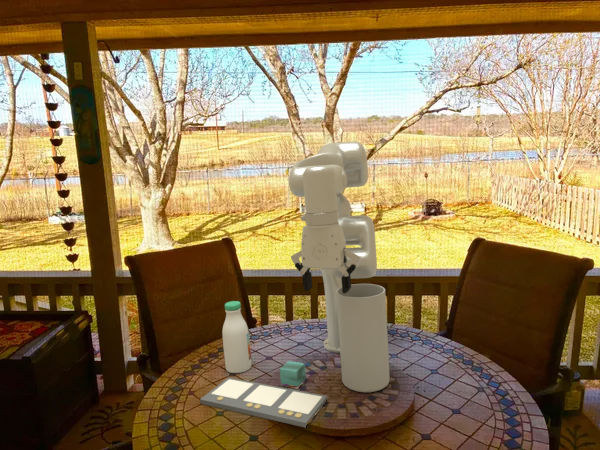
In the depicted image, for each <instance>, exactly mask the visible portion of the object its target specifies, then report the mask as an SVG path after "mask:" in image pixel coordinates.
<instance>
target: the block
mask: <svg viewBox="0 0 600 450" xmlns="http://www.w3.org/2000/svg"><path fill="white" fill-rule="evenodd" d="M306 375H307V374H306V363H305V362H304V363H303V362H297V361H292V360H291V361H290V360H288V361H287V362H286V363H284V365H282V366H281V367H280V368H279V376H280V384H281V383H282V384H288V385H293V386H297V387H298V386H299V385H300V384H301V383H302V382H303V381H304V380H305V379H306V380H307V376H306Z"/></svg>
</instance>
